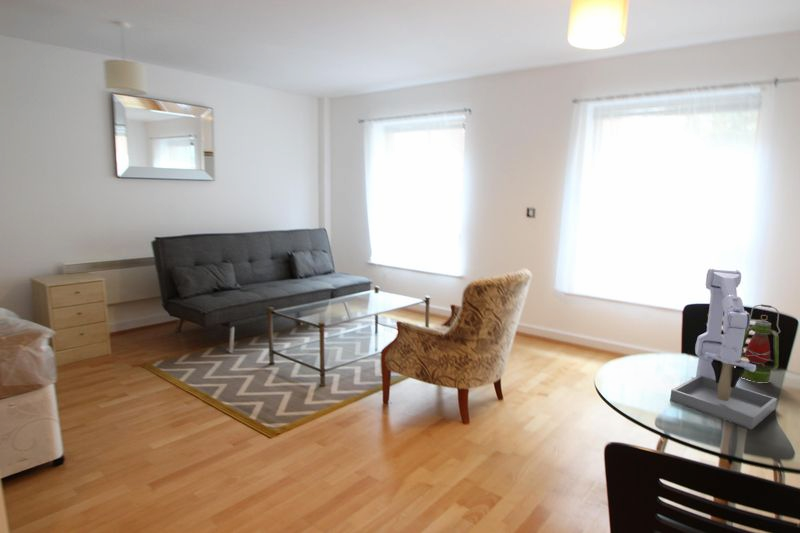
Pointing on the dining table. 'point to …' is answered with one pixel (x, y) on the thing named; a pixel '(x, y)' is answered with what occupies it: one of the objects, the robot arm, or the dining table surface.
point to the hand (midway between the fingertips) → (725, 384)
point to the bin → (724, 402)
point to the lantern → (761, 349)
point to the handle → (725, 381)
